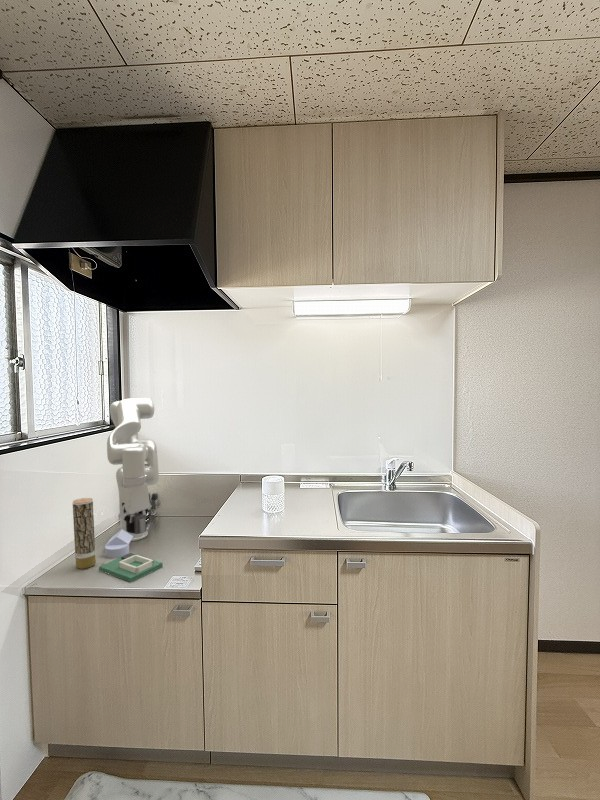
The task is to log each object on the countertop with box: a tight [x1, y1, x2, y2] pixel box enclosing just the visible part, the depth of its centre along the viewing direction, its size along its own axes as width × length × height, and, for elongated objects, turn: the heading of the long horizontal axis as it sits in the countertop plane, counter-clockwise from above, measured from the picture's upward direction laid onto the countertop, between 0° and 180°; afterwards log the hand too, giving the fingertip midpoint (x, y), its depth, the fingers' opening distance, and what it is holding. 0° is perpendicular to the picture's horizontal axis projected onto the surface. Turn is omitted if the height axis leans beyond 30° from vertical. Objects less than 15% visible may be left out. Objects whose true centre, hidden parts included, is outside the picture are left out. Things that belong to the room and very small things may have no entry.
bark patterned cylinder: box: [72, 497, 97, 570], centre depth 170 cm, size 7×7×25 cm
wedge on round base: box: [104, 529, 133, 559], centre depth 184 cm, size 9×7×13 cm
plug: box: [125, 513, 147, 534], centre depth 165 cm, size 7×4×6 cm, turn 59°
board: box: [98, 552, 163, 583], centre depth 168 cm, size 18×14×4 cm
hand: (136, 529), depth 166 cm, fingers closed on plug, 4 cm apart
